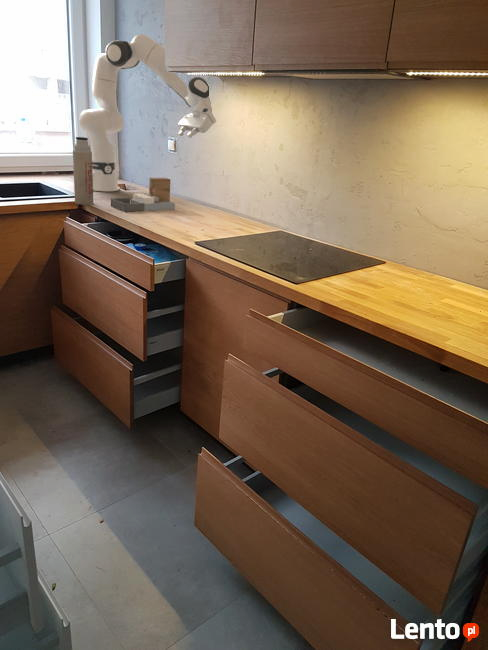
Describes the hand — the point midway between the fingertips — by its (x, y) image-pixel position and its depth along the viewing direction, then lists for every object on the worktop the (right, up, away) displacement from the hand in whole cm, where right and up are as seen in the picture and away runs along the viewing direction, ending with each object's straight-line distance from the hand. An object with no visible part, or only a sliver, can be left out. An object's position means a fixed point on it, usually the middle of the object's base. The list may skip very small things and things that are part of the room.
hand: (184, 136), depth 230 cm
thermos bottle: (-44, -33, -7) cm, 56 cm away
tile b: (-16, -33, -8) cm, 37 cm away
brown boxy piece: (-11, -30, -1) cm, 32 cm away
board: (-14, -34, -2) cm, 37 cm away
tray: (-24, -36, -10) cm, 45 cm away
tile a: (-20, -31, -4) cm, 37 cm away
